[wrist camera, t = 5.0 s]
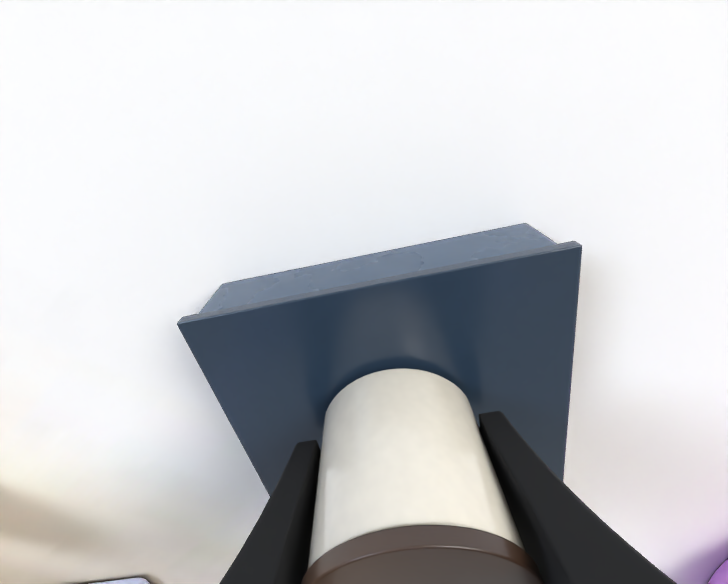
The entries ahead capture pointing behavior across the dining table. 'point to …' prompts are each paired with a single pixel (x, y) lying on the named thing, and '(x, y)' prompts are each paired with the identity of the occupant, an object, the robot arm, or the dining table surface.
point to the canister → (410, 490)
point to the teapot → (720, 575)
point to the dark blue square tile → (397, 337)
